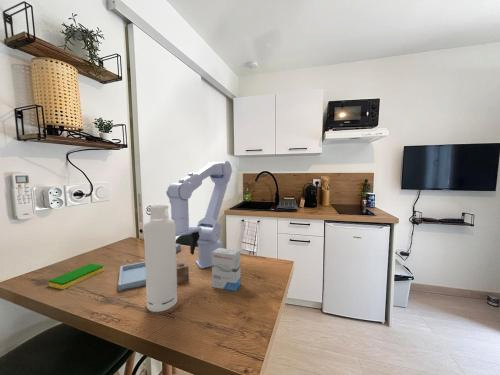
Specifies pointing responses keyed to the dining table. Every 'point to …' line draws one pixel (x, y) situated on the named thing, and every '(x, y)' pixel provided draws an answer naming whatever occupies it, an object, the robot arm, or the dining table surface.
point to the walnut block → (182, 272)
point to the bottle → (160, 259)
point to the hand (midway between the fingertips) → (181, 255)
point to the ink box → (226, 269)
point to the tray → (132, 276)
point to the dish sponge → (75, 276)
